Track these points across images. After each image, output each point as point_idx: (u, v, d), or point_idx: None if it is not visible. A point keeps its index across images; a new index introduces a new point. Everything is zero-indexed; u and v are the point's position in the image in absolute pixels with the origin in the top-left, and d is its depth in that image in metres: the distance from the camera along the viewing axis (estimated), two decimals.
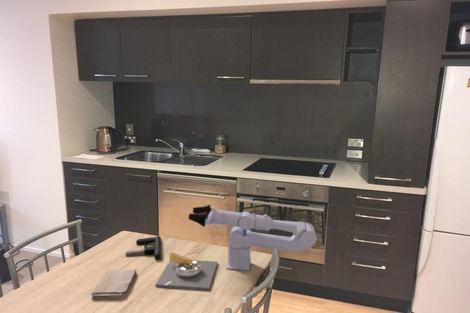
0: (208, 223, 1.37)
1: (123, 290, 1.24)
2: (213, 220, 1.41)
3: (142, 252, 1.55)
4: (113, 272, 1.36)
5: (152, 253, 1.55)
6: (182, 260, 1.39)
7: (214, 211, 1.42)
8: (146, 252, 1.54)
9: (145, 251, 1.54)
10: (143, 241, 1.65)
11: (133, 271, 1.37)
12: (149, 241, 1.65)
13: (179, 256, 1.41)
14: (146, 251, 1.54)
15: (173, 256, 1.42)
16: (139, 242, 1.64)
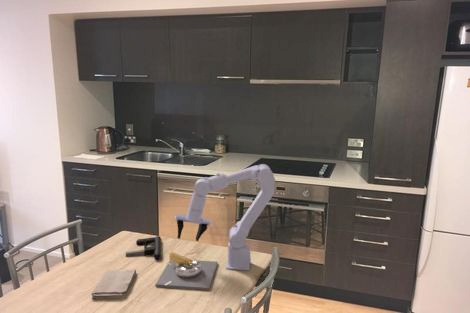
0: (175, 217, 1.40)
1: (123, 290, 1.24)
2: (187, 216, 1.41)
3: (142, 252, 1.54)
4: (113, 272, 1.36)
5: (152, 253, 1.55)
6: (182, 260, 1.39)
7: None
8: (146, 252, 1.54)
9: (145, 251, 1.54)
10: (143, 241, 1.65)
11: (133, 271, 1.37)
12: (149, 241, 1.65)
13: (179, 256, 1.41)
14: (146, 251, 1.54)
15: (173, 256, 1.42)
16: (139, 242, 1.64)
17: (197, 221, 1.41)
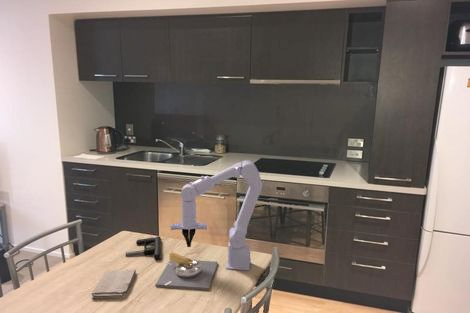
0: None
1: (123, 290, 1.24)
2: (181, 223, 1.41)
3: (142, 252, 1.54)
4: (113, 272, 1.36)
5: (152, 253, 1.55)
6: (182, 260, 1.39)
7: None
8: (146, 252, 1.54)
9: (145, 251, 1.54)
10: (143, 241, 1.64)
11: (133, 271, 1.37)
12: (149, 241, 1.65)
13: (179, 256, 1.41)
14: (146, 251, 1.54)
15: (173, 256, 1.42)
16: (139, 242, 1.64)
17: (191, 227, 1.40)
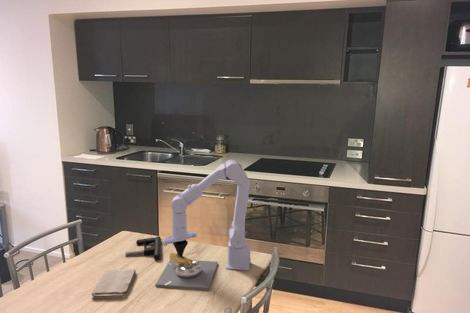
0: (163, 242, 1.37)
1: (123, 290, 1.24)
2: (174, 236, 1.39)
3: (142, 253, 1.54)
4: (112, 272, 1.36)
5: (152, 254, 1.54)
6: (182, 260, 1.39)
7: None
8: (146, 253, 1.54)
9: (145, 252, 1.54)
10: (143, 241, 1.64)
11: (132, 271, 1.37)
12: (149, 241, 1.65)
13: (179, 256, 1.41)
14: (146, 252, 1.54)
15: (173, 256, 1.42)
16: (139, 242, 1.64)
17: (185, 237, 1.40)
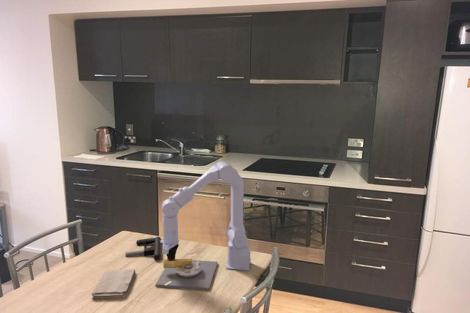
0: (166, 250, 1.30)
1: (124, 290, 1.24)
2: (170, 242, 1.35)
3: (142, 253, 1.54)
4: (112, 272, 1.36)
5: (152, 254, 1.54)
6: (182, 262, 1.37)
7: (163, 240, 1.36)
8: (146, 253, 1.54)
9: (145, 252, 1.54)
10: (143, 242, 1.64)
11: (132, 271, 1.37)
12: (149, 242, 1.65)
13: (175, 259, 1.38)
14: (146, 252, 1.54)
15: (169, 262, 1.37)
16: (139, 243, 1.64)
17: None
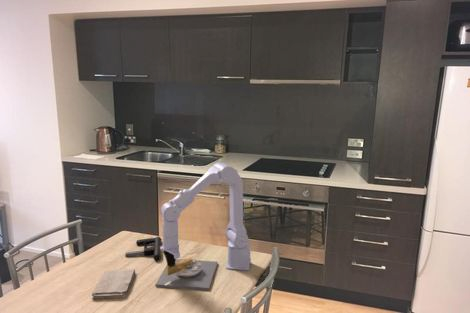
0: (178, 254, 1.27)
1: (124, 290, 1.24)
2: (175, 246, 1.31)
3: (142, 253, 1.54)
4: (112, 272, 1.35)
5: (152, 254, 1.54)
6: (184, 264, 1.36)
7: (165, 247, 1.31)
8: (146, 253, 1.54)
9: (145, 252, 1.53)
10: (143, 242, 1.64)
11: (132, 271, 1.37)
12: (149, 242, 1.64)
13: (177, 263, 1.35)
14: (146, 252, 1.53)
15: (173, 267, 1.33)
16: (139, 243, 1.64)
17: None
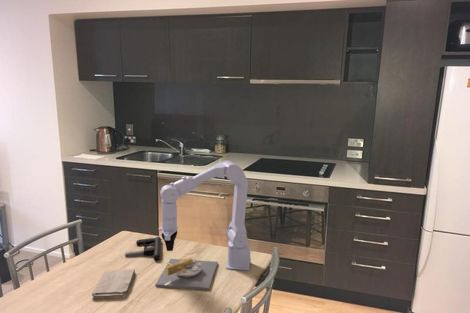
0: (168, 237, 1.28)
1: (124, 290, 1.24)
2: (170, 228, 1.32)
3: (142, 253, 1.54)
4: (112, 272, 1.35)
5: (152, 254, 1.54)
6: (184, 264, 1.36)
7: (162, 227, 1.33)
8: (145, 253, 1.53)
9: (144, 252, 1.53)
10: (143, 242, 1.64)
11: (132, 271, 1.37)
12: (149, 242, 1.64)
13: (177, 263, 1.35)
14: (145, 252, 1.53)
15: (173, 267, 1.33)
16: (139, 243, 1.63)
17: (176, 226, 1.36)
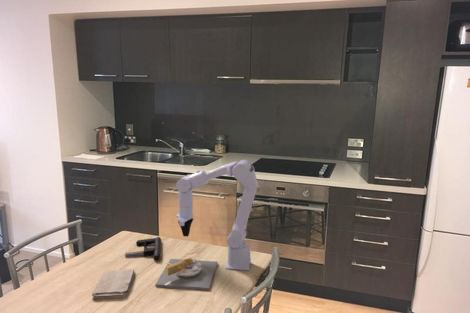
0: (182, 222, 1.41)
1: (124, 289, 1.24)
2: (185, 216, 1.46)
3: (141, 253, 1.54)
4: (111, 272, 1.35)
5: (152, 254, 1.54)
6: (184, 264, 1.36)
7: (179, 214, 1.47)
8: (145, 253, 1.53)
9: (144, 252, 1.53)
10: (143, 242, 1.64)
11: (131, 270, 1.37)
12: (149, 242, 1.64)
13: (177, 263, 1.35)
14: (145, 252, 1.53)
15: (173, 267, 1.33)
16: (139, 243, 1.63)
17: (192, 214, 1.49)
